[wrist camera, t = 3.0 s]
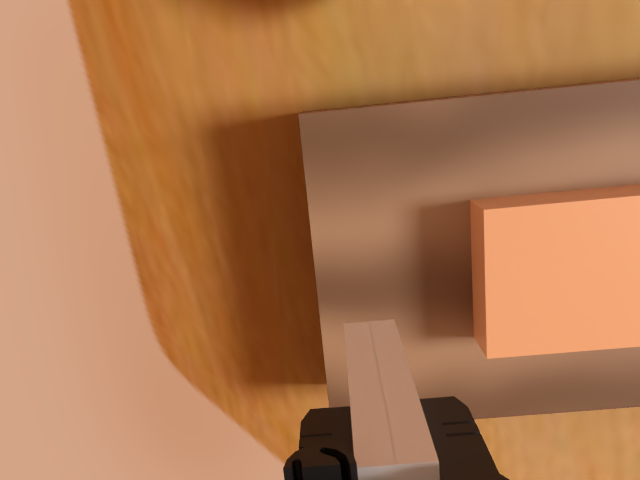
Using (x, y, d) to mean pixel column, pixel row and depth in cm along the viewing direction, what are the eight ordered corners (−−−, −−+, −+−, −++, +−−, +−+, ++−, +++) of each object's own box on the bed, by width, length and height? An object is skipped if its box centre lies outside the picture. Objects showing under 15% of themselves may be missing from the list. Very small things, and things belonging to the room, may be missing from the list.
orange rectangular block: (470, 199, 22) (483, 209, 20) (699, 178, 21) (736, 186, 19) (473, 337, 23) (487, 358, 21) (688, 319, 23) (721, 339, 21)
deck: (303, 111, 25) (298, 114, 21) (844, 56, 24) (944, 49, 20) (331, 384, 28) (331, 429, 24) (804, 347, 27) (882, 388, 23)
